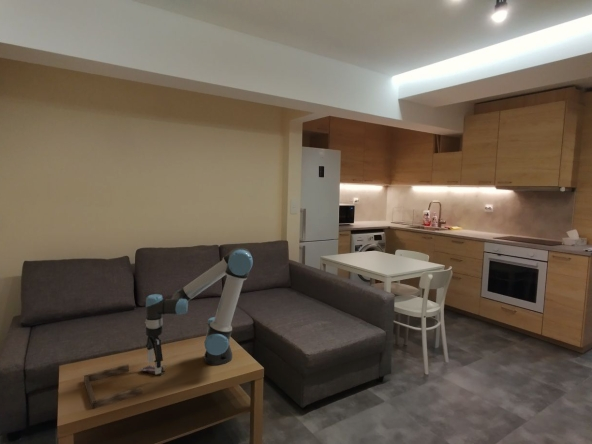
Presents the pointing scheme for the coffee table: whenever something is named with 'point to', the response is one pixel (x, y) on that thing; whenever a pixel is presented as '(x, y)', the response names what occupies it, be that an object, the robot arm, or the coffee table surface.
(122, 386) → the coffee table surface
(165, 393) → the coffee table surface
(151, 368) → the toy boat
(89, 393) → the frame
